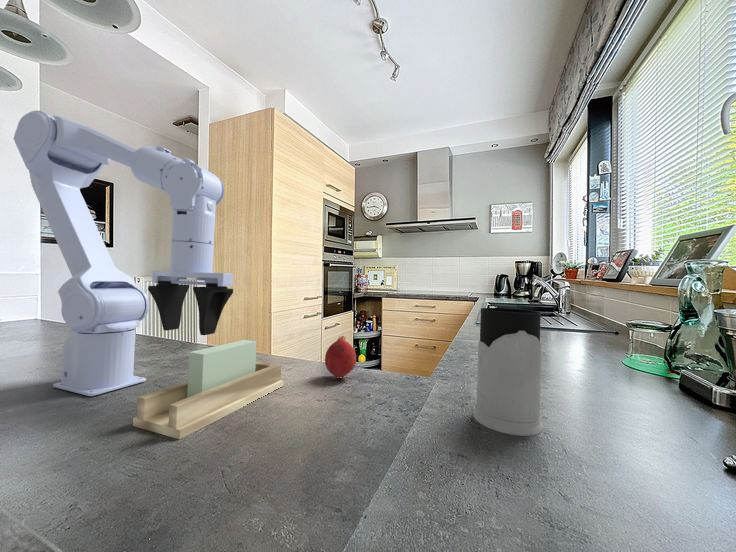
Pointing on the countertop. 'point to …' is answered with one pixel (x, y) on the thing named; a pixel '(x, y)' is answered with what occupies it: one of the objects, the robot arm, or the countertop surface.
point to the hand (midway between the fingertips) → (188, 331)
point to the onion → (340, 358)
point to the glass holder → (509, 371)
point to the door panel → (220, 365)
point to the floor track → (203, 402)
